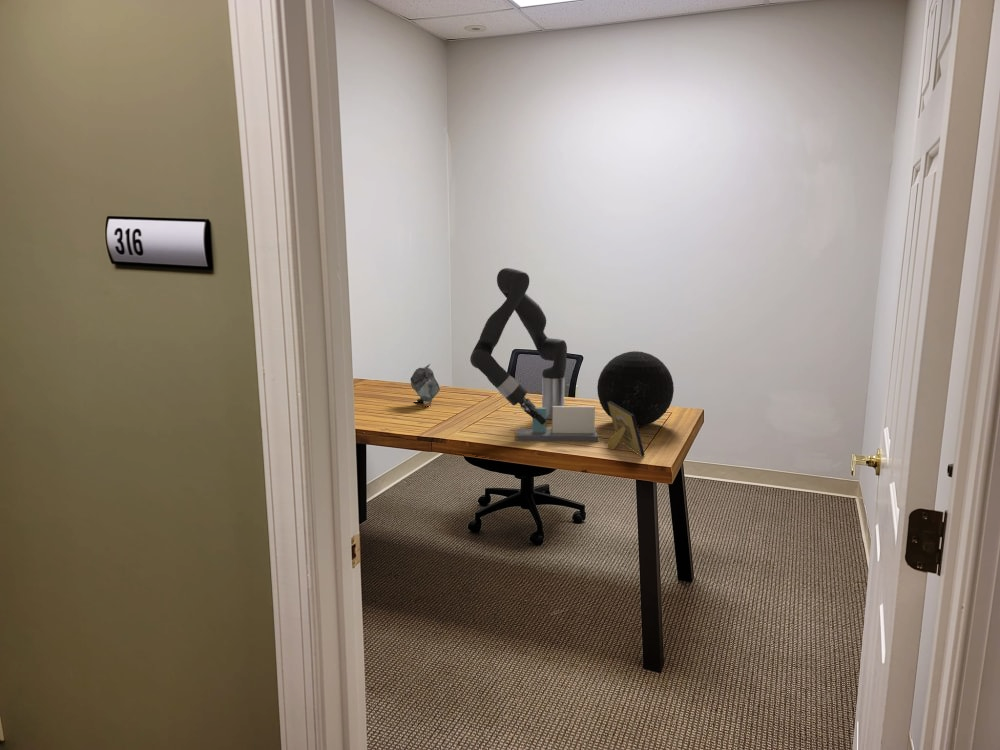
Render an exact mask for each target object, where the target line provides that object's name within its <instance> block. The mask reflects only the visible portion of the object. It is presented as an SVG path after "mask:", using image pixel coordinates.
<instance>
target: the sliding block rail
mask: <svg viewBox="0 0 1000 750" xmlns="http://www.w3.org/2000/svg"><path fill="white" fill-rule="evenodd" d="M595 421H596V407H595V406H592V405H590V406H589V405H587V406H586V405H584V406H583V405H582V406H578V405H575V406H573V405H571V406H570V405H568V406H566V405H564V406H552V419H551V425H550V426H551V428H546V432H533V428H516V441H517V442H521V441H522V442H591V443H593V442H599V434H598V433H597V430H596V429H595V423H596V422H595Z"/></svg>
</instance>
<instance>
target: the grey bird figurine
mask: <svg viewBox="0 0 1000 750" xmlns="http://www.w3.org/2000/svg"><path fill="white" fill-rule="evenodd" d="M430 365H431V363H429V364H427V365H426V366H424V367H418V368H417V369H416V370H414V372H413V374H412V376H411V377H410V386H411V388H412V389H413V391H415V392H416V394H417V396H419V397H420V398H418V399H416V400H417V401H419V402H423V403H422V405H423V406H430V407H431V406H432V404H431V403H432V401H433V399H434V398H435V397H436V396H437V394H438V393H439V392H440V390H441V389H440V385H439V383H438V381H437V380H436V378H435V374H434V371H433V370H432V369H431V368H430Z"/></svg>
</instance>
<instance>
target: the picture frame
mask: <svg viewBox="0 0 1000 750" xmlns="http://www.w3.org/2000/svg"><path fill="white" fill-rule="evenodd" d="M608 406H609V410H610V414H611V417H612V418H611V417H610V418H611V420H612V425H613V428H614V432H615V433H614V434H613V435H612V436H611V437H610V438H608V441H607V446H606V448H607V447H608V449H610V448H611V449H612V450H615V449H616V448H617V446H618V444H619V442H620V443H622V444H623V443H624V444H623V445H625V446H626V447H627V446H628V448H629V449H630V448H631V449H630V450H632V451H633V450H634V451H635V454H637V453H638V455H639V454H640V455H641V456H642V457H645V456H644V455H646V454H645V450H644V446H643V442H642V438H641V435H640V431H639V426H637V422H636V418H635V415H633V414H632V413H630V412H628V411H627V410H625V409H623V408H621V407H620V406H618V405H616V404H615V403H613V402H611V401H609V402H608ZM611 449H610V450H611ZM634 451H633V452H634ZM640 455H639V456H640ZM641 456H640V457H641Z"/></svg>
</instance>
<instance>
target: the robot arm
mask: <svg viewBox="0 0 1000 750" xmlns="http://www.w3.org/2000/svg"><path fill="white" fill-rule="evenodd" d="M496 284H497V287H498V289H499V291H500V292H501V294H502V295H504V297H505V298H506V299H505V301H504V302H503V303H502V305H500V306H499V308H497V309H496V310H495V311H494V312H493V313H492V314H491V315H490V316H489V317H488V318H487V320H486V322H485V324H484V326H483V328H482V332H481V333H480V336H479V339H478V340H477V343H476V344H475V347H474V348H473V350H472V352H471V353H470V354H471V355H470V360H469V361H470V364H471V366H472V367H474V368H475V369H478V370H479V371H480V372H481V373H482V374H483V375H484V376H486V378H487V380H488V382H489V383H491V384H492V386H493V387H495V389H496V390H497V391H498V392H499V393H500V394H501V396H503V398H505V399H506V400H507V402H508V403H510V404H511V405H512V406H516V405H517V404H519V405H520V409H522V410H523V411H524V413H526V414H527V415H529V416H530V417H531V418H532V419H533V418H535V419H536V420H537V421H538V422H539V423H540V424H542V425H543V424H544V423H545V422H546V423H547V420H552V406H565V378H566V377H565V375H566V374H565V373H566V370H567V368H566V367H567V358H568V357H567V355H568V345H567V343H566V341H565V340H564V339H560V338H550V337H548V336H547V335H546V334H545V329H546V325H547V317H546V315H545V313H544V311H543V310H542V308H541V306H540V305H539V304H538V303H537V302H536V301H535V300H534V299H533V298H531V296H529V294H527V291H528V289H529V286H530V277H529V274H528V273H527V272H525V271H524V270H520V269H515V268H509V267H508V268H507V267H506V268H502V269H500V271H498V273H497V276H496ZM514 312H515V313H516V315H517V317H518V318H519V319H520V321H521V323H522V325H523V327H524V328H525V329H526V332H527V333H528V334H529V336H530V338H531V340H532V342H533V344H534V346H535V349H536V351H537V353H538V356H539V357H540V358H541V359H543V360H545V361H549V362H550V361H551V362H553V364H552V366H551V367H549V368H545V369H543V370H542V374H541V375H542V376H541V377H542V385H541V387H542V388H541V389H542V390H541V391H542V393H541V395H542V396H541V408H546V420H545V419H544V418H543V417H542V416H541V415H540V414H539V412H537V411H536V410H535V409H536V408H537V407H536V405H535V404H534V403H533V402H532V400H531V399H529V398H526V397H525V396H526V395H528V391H527V389H526V388H524V387H523V385H522V384H520V383H519V381H517V380H516V379H515V378H514V377H513V376H511V375H510V374H509V372H508V371H507V370H506V369H504V367H502V366H501V365H500V364H499V362H497V360H496V359H495V358H494V357H493V356H492V355H493V351H494V350H495V347H496V346H497V344H498V343H499V341H500V339H501V336H502V334H503V331H504V330H505V327H506V325H507V324H508V321H509V320H510V318H511V317H512V315H513V313H514ZM533 413H534V414H533Z"/></svg>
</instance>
